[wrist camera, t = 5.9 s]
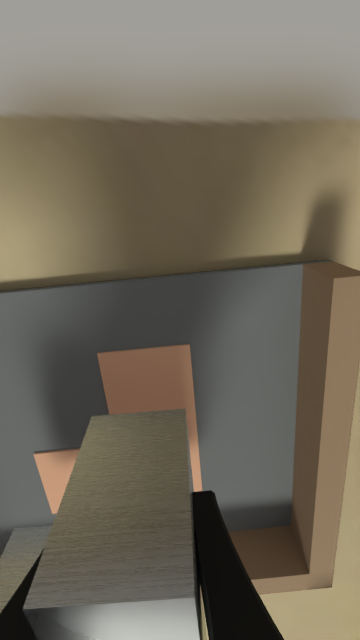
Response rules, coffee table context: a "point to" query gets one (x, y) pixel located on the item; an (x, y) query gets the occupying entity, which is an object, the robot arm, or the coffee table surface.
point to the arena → (195, 397)
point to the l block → (116, 539)
